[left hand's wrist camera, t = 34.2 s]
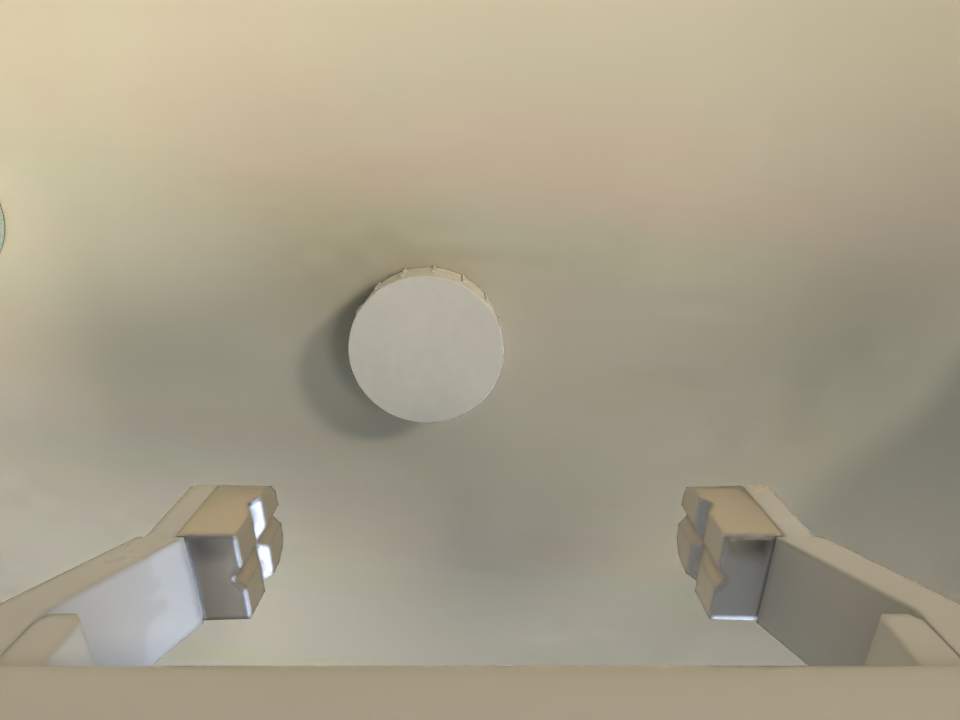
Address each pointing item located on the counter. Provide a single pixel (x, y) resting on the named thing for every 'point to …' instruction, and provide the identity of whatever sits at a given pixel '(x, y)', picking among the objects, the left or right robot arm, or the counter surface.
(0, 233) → the jar
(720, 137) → the counter surface
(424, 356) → the lid
